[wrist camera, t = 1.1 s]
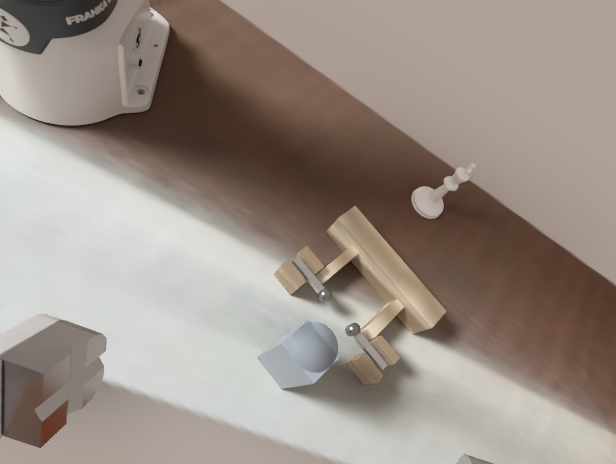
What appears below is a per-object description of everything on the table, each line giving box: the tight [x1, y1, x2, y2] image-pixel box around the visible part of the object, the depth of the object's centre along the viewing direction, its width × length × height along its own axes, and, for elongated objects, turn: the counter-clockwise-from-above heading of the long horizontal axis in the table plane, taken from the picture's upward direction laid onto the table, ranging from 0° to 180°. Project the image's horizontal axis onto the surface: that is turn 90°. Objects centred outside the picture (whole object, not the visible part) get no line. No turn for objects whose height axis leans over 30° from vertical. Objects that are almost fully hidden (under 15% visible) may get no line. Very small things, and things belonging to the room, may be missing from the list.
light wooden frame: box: [274, 206, 446, 385], centre depth 44 cm, size 12×16×4 cm
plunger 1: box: [292, 256, 332, 302], centre depth 42 cm, size 1×6×1 cm, turn 42°
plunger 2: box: [345, 323, 388, 371], centre depth 41 cm, size 1×6×1 cm, turn 42°
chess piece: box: [411, 163, 476, 219], centre depth 51 cm, size 5×5×10 cm
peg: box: [257, 320, 339, 389], centre depth 36 cm, size 4×4×10 cm
